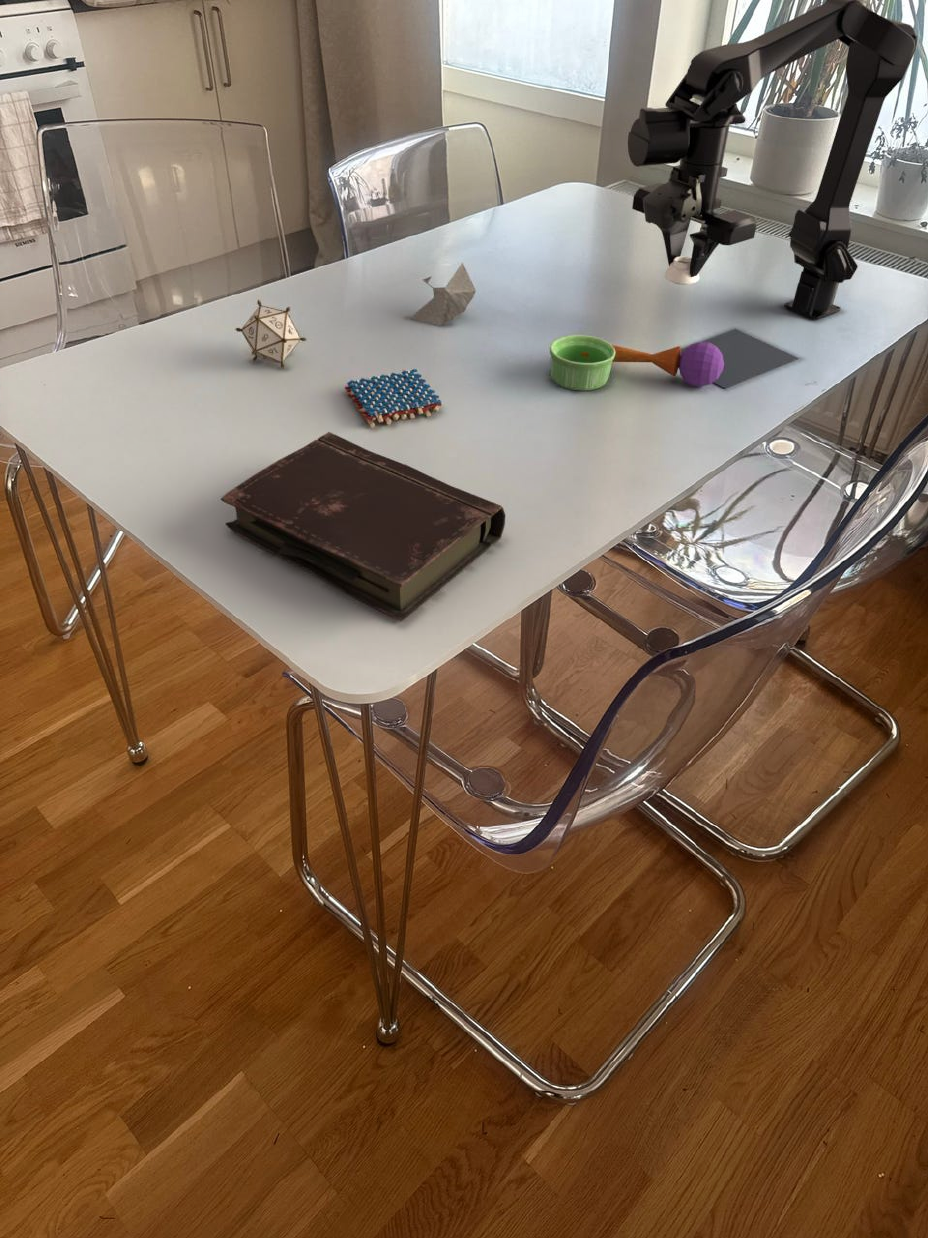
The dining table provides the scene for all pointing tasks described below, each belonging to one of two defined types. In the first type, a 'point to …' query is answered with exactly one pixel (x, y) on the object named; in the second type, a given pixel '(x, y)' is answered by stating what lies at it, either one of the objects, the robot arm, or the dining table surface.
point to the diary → (365, 522)
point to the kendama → (680, 361)
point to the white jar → (680, 271)
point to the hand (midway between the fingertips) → (682, 272)
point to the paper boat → (448, 299)
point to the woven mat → (392, 396)
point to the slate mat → (745, 357)
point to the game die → (271, 334)
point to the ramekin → (581, 362)
